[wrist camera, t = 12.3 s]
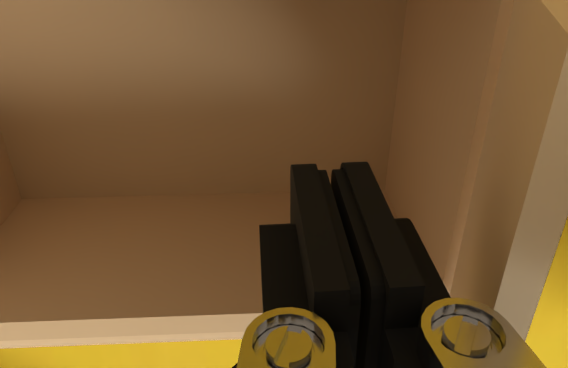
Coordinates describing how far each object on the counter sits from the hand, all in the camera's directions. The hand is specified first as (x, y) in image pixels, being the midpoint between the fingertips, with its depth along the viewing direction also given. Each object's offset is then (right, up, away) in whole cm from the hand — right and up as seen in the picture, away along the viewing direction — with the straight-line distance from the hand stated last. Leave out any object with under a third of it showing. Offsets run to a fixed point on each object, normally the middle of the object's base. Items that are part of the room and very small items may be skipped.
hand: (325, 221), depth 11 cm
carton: (-4, +5, +9) cm, 12 cm away
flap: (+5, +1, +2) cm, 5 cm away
